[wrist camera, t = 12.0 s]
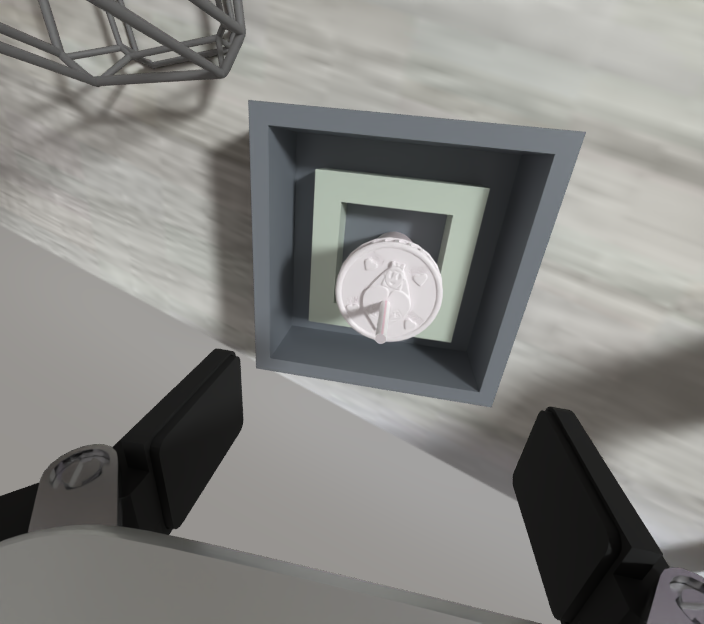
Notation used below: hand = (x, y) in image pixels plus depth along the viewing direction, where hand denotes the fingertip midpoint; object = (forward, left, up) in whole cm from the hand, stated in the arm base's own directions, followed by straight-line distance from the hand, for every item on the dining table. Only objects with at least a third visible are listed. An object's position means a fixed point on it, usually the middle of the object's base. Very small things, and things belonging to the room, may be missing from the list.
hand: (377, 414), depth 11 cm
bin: (0, 0, -21) cm, 21 cm away
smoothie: (0, 0, -20) cm, 20 cm away
